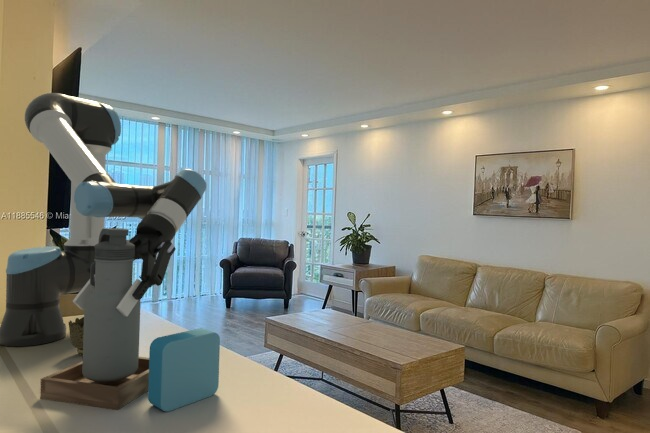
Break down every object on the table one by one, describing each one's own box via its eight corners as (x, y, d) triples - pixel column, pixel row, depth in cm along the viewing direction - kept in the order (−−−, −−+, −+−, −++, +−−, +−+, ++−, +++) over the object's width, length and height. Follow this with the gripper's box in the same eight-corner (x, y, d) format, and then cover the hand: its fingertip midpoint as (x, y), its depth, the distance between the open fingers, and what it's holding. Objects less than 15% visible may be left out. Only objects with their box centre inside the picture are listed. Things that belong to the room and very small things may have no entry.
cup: (88, 360, 101) (89, 325, 101) (60, 357, 102) (61, 322, 102) (110, 350, 108) (111, 317, 108) (83, 347, 110) (84, 315, 109)
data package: (204, 387, 88) (206, 326, 88) (218, 393, 85) (220, 331, 85) (147, 406, 78) (149, 338, 78) (161, 414, 76) (163, 344, 76)
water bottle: (76, 370, 87) (80, 227, 86) (128, 360, 94) (132, 227, 93) (89, 387, 79) (94, 230, 79) (145, 375, 86) (150, 230, 85)
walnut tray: (103, 368, 96) (103, 352, 96) (169, 377, 92) (170, 360, 92) (40, 398, 80) (40, 378, 80) (117, 409, 77) (117, 389, 77)
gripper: (211, 238, 96) (157, 327, 82) (130, 233, 105) (68, 313, 90) (196, 213, 91) (135, 303, 77) (112, 210, 100) (43, 291, 85)
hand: (99, 308), depth 84 cm, fingers closed on water bottle, 10 cm apart
